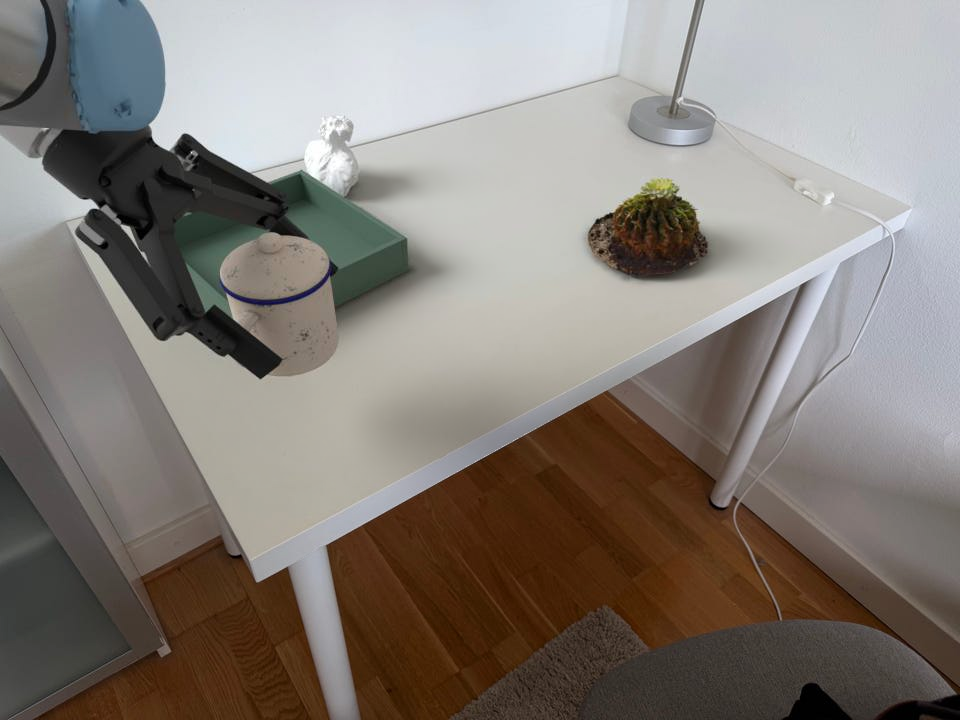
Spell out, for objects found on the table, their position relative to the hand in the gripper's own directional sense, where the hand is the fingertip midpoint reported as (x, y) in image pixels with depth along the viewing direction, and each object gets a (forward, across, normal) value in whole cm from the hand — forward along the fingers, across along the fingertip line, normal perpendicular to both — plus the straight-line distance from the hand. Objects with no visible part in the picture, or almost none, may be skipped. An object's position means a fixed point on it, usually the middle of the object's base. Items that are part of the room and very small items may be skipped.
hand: (302, 320), depth 59 cm
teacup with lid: (+2, 0, -5) cm, 5 cm away
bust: (-1, -48, -22) cm, 53 cm away
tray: (-1, -26, -21) cm, 34 cm away
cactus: (+32, -42, +12) cm, 54 cm away
